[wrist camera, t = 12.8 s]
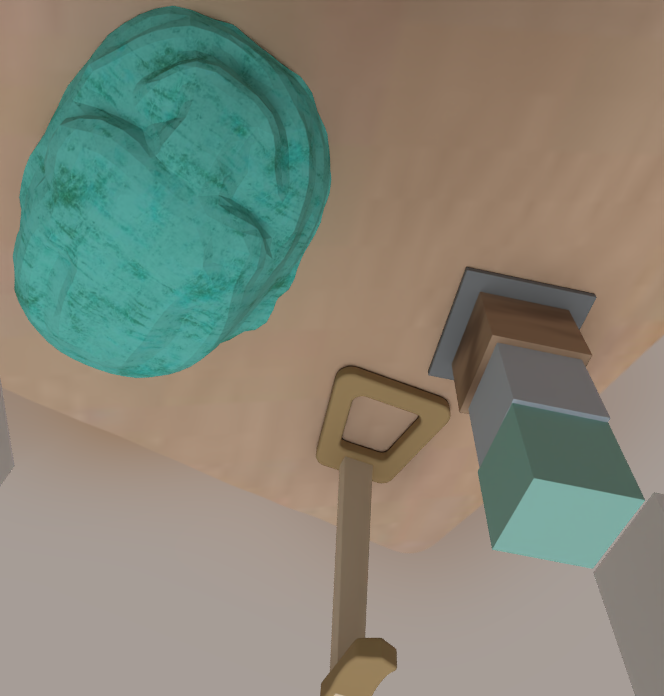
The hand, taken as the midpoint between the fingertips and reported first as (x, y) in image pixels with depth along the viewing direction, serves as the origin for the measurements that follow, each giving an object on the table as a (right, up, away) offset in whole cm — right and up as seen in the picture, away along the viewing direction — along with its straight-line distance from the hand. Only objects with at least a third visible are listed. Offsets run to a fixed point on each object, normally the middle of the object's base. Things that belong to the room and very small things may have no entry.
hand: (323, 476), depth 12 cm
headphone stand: (+4, -4, +41) cm, 42 cm away
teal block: (+13, -4, +25) cm, 28 cm away
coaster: (+14, +4, +35) cm, 38 cm away
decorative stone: (-11, +13, +31) cm, 36 cm away
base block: (+14, +3, +34) cm, 37 cm away
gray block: (+14, 0, +29) cm, 32 cm away
